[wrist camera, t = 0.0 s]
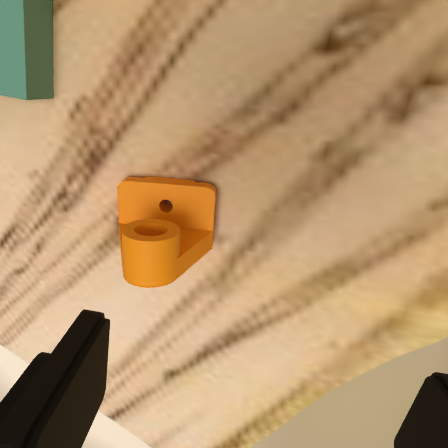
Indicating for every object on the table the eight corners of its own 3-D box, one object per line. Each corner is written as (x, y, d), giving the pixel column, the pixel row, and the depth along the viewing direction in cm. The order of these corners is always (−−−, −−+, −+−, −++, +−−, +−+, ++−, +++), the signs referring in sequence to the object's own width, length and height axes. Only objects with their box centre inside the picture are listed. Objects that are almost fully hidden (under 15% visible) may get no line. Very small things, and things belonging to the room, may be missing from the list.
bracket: (217, 181, 40) (207, 218, 29) (213, 239, 43) (203, 292, 32) (124, 174, 41) (79, 207, 29) (126, 231, 43) (86, 282, 32)
